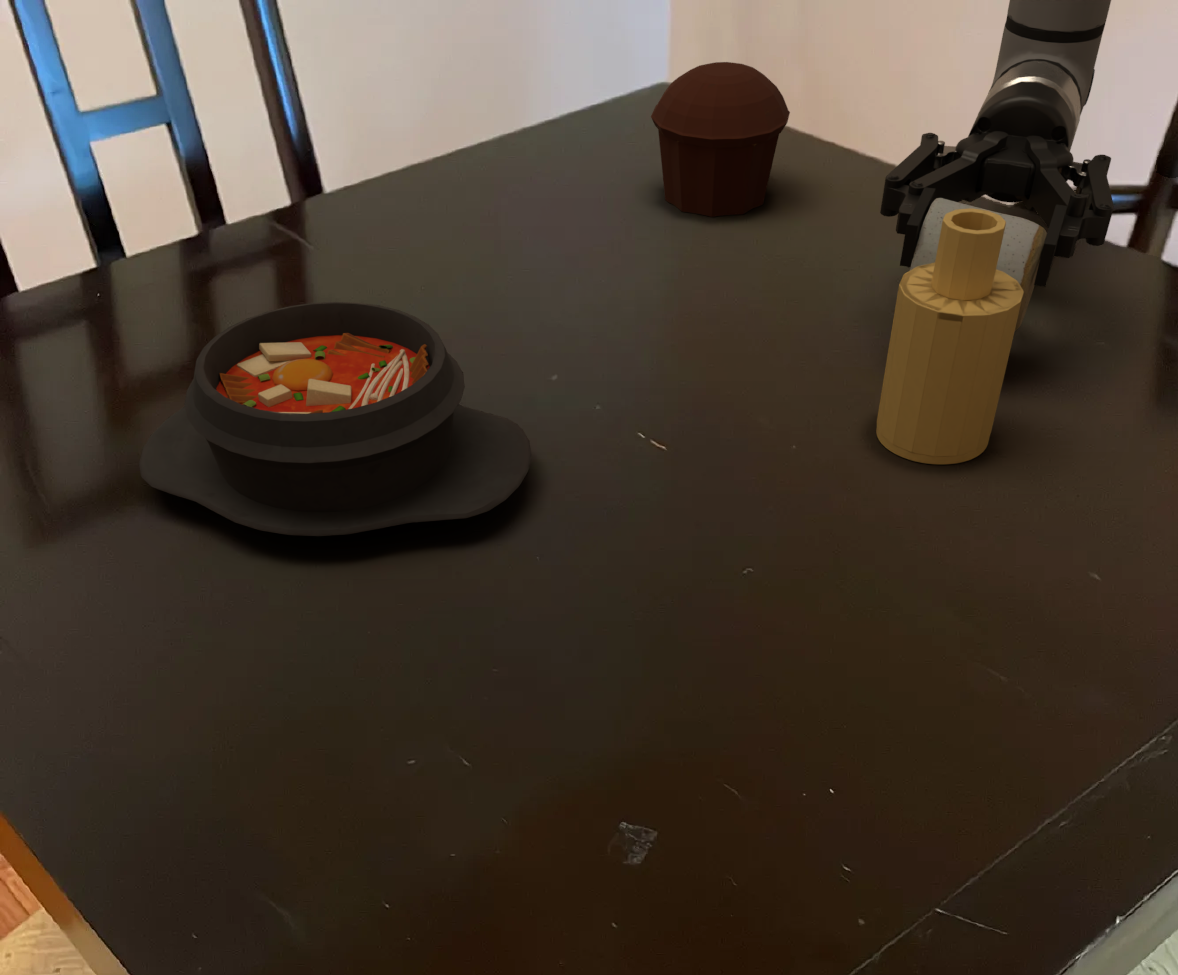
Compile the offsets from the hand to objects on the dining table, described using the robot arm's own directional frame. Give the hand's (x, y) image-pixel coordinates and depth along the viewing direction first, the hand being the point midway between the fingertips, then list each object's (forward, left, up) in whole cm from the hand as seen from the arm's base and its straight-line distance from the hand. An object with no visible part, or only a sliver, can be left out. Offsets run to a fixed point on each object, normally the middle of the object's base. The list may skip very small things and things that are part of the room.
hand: (976, 255), depth 88 cm
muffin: (+25, -27, -9) cm, 38 cm away
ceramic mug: (0, -5, -6) cm, 8 cm away
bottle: (0, +7, -9) cm, 12 cm away
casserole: (+35, +25, -9) cm, 44 cm away
